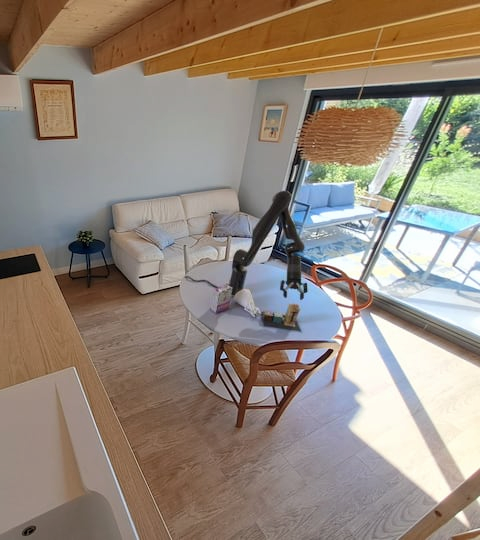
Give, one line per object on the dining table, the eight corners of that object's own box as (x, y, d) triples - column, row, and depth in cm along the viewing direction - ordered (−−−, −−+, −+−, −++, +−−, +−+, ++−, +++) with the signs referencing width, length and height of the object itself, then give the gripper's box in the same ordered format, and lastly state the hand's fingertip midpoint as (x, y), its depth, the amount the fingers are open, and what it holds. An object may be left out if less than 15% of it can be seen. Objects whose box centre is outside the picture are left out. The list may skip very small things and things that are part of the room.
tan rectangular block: (285, 323, 171) (291, 307, 165) (283, 318, 175) (289, 303, 169) (294, 325, 170) (300, 309, 164) (292, 320, 174) (298, 304, 168)
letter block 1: (263, 320, 174) (264, 314, 172) (261, 316, 178) (263, 310, 176) (271, 321, 173) (273, 315, 171) (269, 317, 177) (271, 311, 175)
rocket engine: (263, 306, 171) (246, 286, 184) (246, 317, 174) (231, 296, 187) (268, 314, 178) (251, 293, 191) (252, 324, 181) (236, 303, 194)
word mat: (264, 326, 170) (264, 326, 170) (260, 312, 182) (260, 311, 181) (301, 332, 165) (301, 331, 165) (294, 317, 177) (294, 316, 177)
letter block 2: (272, 322, 173) (274, 316, 171) (271, 317, 177) (273, 311, 174) (280, 323, 172) (283, 317, 170) (279, 318, 176) (281, 312, 173)
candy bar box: (223, 304, 189) (227, 284, 181) (228, 308, 185) (233, 287, 177) (210, 309, 185) (214, 288, 177) (215, 313, 181) (220, 292, 173)
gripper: (304, 275, 175) (303, 301, 171) (279, 272, 178) (278, 298, 174) (309, 272, 168) (309, 299, 164) (283, 269, 171) (282, 295, 167)
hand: (293, 298), depth 169 cm, fingers open, 8 cm apart
